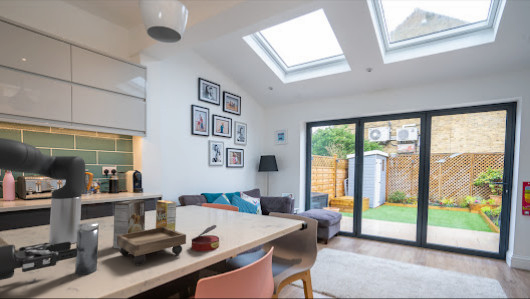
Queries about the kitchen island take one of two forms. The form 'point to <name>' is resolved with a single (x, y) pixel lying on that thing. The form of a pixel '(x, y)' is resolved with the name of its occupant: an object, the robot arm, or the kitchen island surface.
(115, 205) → the coffee box
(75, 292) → the kitchen island surface
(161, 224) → the candy box
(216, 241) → the canned food
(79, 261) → the canister
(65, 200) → the robot arm
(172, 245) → the tray
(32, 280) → the kitchen island surface
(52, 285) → the kitchen island surface
